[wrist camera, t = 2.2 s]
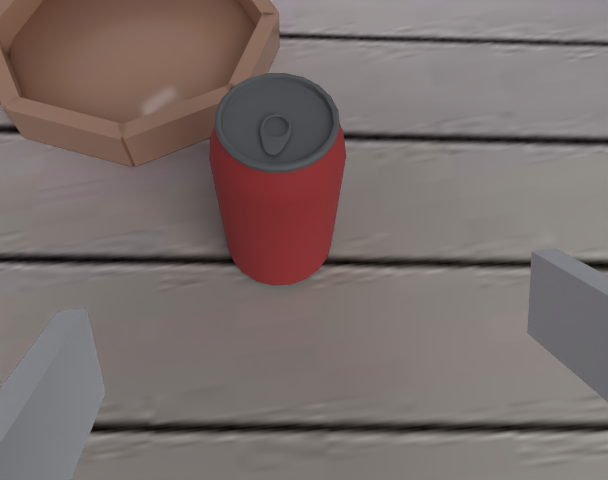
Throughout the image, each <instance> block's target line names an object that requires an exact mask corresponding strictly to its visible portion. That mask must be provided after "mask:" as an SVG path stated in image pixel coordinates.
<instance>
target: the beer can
mask: <svg viewBox="0 0 608 480" xmlns="http://www.w3.org/2000/svg"><path fill="white" fill-rule="evenodd" d="M345 159H346V152H345V142H344V136H343V130H342V128H341V126H340V123H339V114H338V109H337V107H336V106H335V104H334V102H333V100H332V98H331V96H330V95H328V94H327V93H326V92H325V91H324V90H323V89H322V88H321V87H320V86H319V85H317V84H315V83H313V82H311V81H309V80H307V79H305V78H303V77H299V76H295V75H290V74H286V73H272V74H263V75H259V76H255V77H251V78H248V79H246V80H244V81H242V82H241V83H239V84H237V85H235V86H233V87H232V88H231V89H230V90H229V92H228V93H227V94H226V95H225V96H224V97H223V98H222V99H221V101H220V103H219V106H218V108H217V110H216V112H215V125H214V128H213V130H212V133H211V140H210V159H209V160H210V164H211V169H212V174H213V178H214V183H215V188H216V193H217V197H218V202H219V207H220V211H221V216H222V221H223V226H224V230H225V235H226V240H227V245H228V248H229V251H230V254H231V257H232V259H233V261H234V262H235V263H236V265H237V266H238V267H239V268H240V270H241V271H242V272H243V273H245V274H246V275H248V276H249V277H251V278H253V279H254V280H256V281H259V282H263V283H267V284H270V285H290V284H293V283H296V282H298V281H301V280H304V279H306V278H308V277H309V276H310V275H312V274H313V273H315V272H316V271H317V270H319V268H320V267H321V265H322V264H323V262H324V261H325V260H326V258H327V256H328V253H329V249H330V245H331V241H332V235H333V229H334V224H335V218H336V212H337V206H338V200H339V194H340V189H341V183H342V177H343V171H344V165H345Z"/></svg>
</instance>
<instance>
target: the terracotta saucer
mask: <svg viewBox="0 0 608 480" xmlns="http://www.w3.org/2000/svg"><path fill="white" fill-rule="evenodd" d="M278 48H279V12H278V11H277V10H276V8H275V7H274V6H273V4H272V3H271V2H270V0H0V102H1V105H2V107H3V109H4V110H5V112H6V113H7V114H8V116H9V117H10V119H11V120H12V122H13V123H14V125H15V126H16V127H17V129H18V130H19V132H20V133H21V135H22V136H24V138H27V139H30V140H34V141H38V142H41V143H45V144H49V145H53V146H56V147H60V148H64V149H67V150H71V151H75V152H79V153H82V154H86V155H90V156H93V157H97V158H101V159H105V160H108V161H112V162H116V163H119V164H123V165H127V166H130V167H132V166H133V165H134V164H135V166H139V165H141V164H144V163H146V162H149V161H151V160H154V159H156V158H159V157H162V156H164V155H167V154H169V153H172V152H174V151H177V150H179V149H182V148H184V147H187V146H189V145H192V144H195V143H197V142H200V141H202V140H205V139H207V138H210V137H211V133H212V130H213V128H214V125H215V112H216V110H217V108H218V106H219V103H220V101H221V99H222V98H223V97H224V96H225V95H226V94H227V93H228V92H229V90H230V89H231V88H232V87H233V86H235V85H237V84H239V83H241V82H242V81H244V80H246V79H248V78H251V77H255V76H259V75H263V74H267V73H268V71H269V68H270V66H271V64H272V62H273V60H274V57H275V55H276V53H277V51H278Z"/></svg>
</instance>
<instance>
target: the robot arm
mask: <svg viewBox="0 0 608 480" xmlns="http://www.w3.org/2000/svg"><path fill="white" fill-rule="evenodd" d="M527 333H528V334H529V335H530V336H532V337H533V338H534V339H535V340H536V341H537V342H538V343H540V344H541V345H542V346H543V347H544V348H545V349H547V350H548V351H549V352H550V353H551V354H552V355H554V356H555V357H556V358H557V359H558V360H559V361H561V362H562V363H563V364H564V365H565V366H566V367H568V368H569V369H570V370H571V371H572V372H573V373H575V374H576V375H577V376H578V377H579V378H580V379H582V380H583V381H584V382H585V383H586V384H587V385H589V386H590V387H591V388H592V389H593V390H594V391H596V392H597V393H598V394H599V395H600V396H601V397H603V398H604V399H605V400H606V401H607V402H608V276H607V275H605V274H603V273H601V272H599V271H597V270H595V269H593V268H592V267H590V266H588V265H586V264H584V263H582V262H580V261H578V260H576V259H574V258H572V257H571V256H569V255H567V254H565V253H563V252H561V251H559V250H557V249H549V250H541V251H533V252H532V258H531V276H530V295H529V314H528V332H527ZM105 394H106V392H105V388H104V383H103V379H102V375H101V370H100V366H99V361H98V357H97V353H96V348H95V344H94V339H93V335H92V331H91V326H90V322H89V318H88V313H87V309H86V308H81V309H73V310H66V311H58V312H57V313H56V315H55V316H54V317H53V319H52V320H51V321H50V323H49V324H48V325H47V327H46V328H45V329H44V331H43V332H42V333H41V335H40V336H39V337H38V339H37V340H36V341H35V343H34V344H33V345H32V347H31V348H30V349H29V351H28V352H27V353H26V355H25V356H24V357H23V359H22V360H21V361H20V363H19V364H18V365H17V367H16V368H15V369H14V371H13V372H12V373H11V375H10V376H9V377H8V379H7V380H6V381H5V383H4V384H3V386H2V387H1V388H0V480H71V479H72V476H73V474H74V471H75V469H76V466H77V464H78V461H79V459H80V456H81V454H82V451H83V449H84V446H85V444H86V441H87V439H88V436H89V434H90V431H91V429H92V426H93V424H94V421H95V419H96V416H97V414H98V411H99V409H100V406H101V404H102V401H103V399H104V396H105Z"/></svg>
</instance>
